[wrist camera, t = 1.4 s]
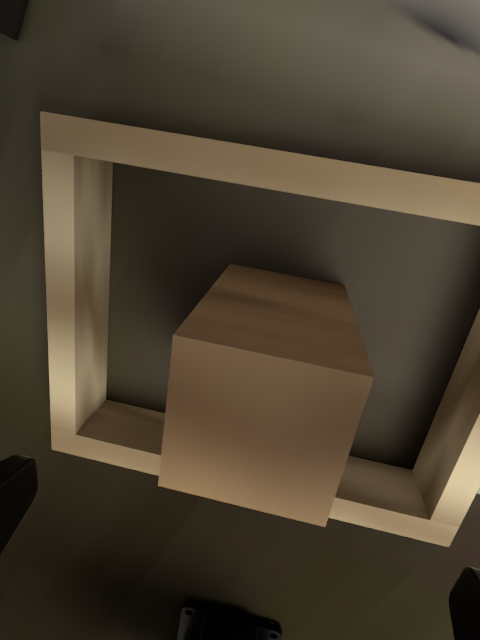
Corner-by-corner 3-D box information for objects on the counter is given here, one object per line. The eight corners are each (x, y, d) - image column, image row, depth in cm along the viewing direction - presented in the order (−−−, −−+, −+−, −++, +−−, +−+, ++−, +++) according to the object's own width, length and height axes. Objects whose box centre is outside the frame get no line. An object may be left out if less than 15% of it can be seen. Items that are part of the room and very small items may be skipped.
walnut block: (317, 385, 19) (325, 527, 11) (215, 363, 19) (158, 485, 12) (344, 285, 17) (374, 377, 9) (230, 263, 17) (172, 334, 10)
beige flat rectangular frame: (429, 494, 20) (448, 547, 17) (84, 413, 21) (51, 449, 19) (561, 199, 14) (621, 206, 12) (86, 121, 16) (39, 110, 13)
